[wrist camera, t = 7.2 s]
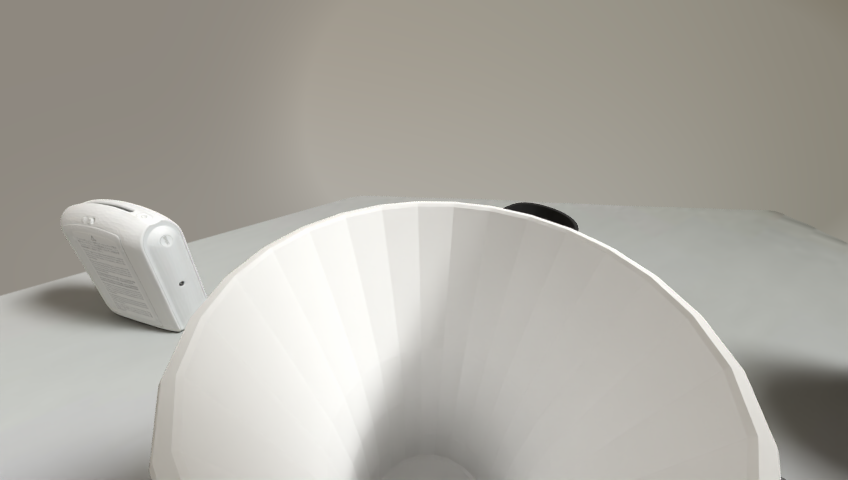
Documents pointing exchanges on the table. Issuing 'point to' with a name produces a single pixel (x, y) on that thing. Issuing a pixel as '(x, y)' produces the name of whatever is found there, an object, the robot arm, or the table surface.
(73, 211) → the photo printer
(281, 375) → the cup
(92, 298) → the table surface
